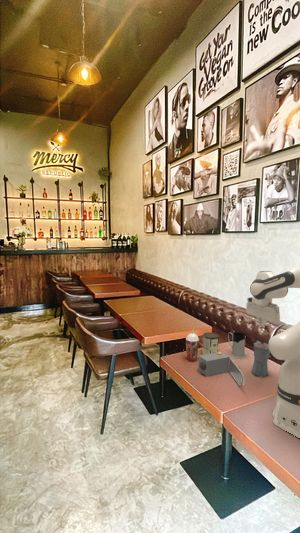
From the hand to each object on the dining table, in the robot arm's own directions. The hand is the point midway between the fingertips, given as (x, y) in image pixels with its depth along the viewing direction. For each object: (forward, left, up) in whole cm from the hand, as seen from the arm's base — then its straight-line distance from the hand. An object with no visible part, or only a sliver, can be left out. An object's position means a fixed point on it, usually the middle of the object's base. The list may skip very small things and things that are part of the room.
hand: (261, 326), depth 148 cm
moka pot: (+7, -8, -31) cm, 33 cm away
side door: (+4, +11, -31) cm, 33 cm away
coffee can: (+38, +4, -31) cm, 49 cm away
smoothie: (+37, +19, -31) cm, 52 cm away
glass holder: (+33, -13, -31) cm, 47 cm away
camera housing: (+19, +15, -31) cm, 40 cm away
